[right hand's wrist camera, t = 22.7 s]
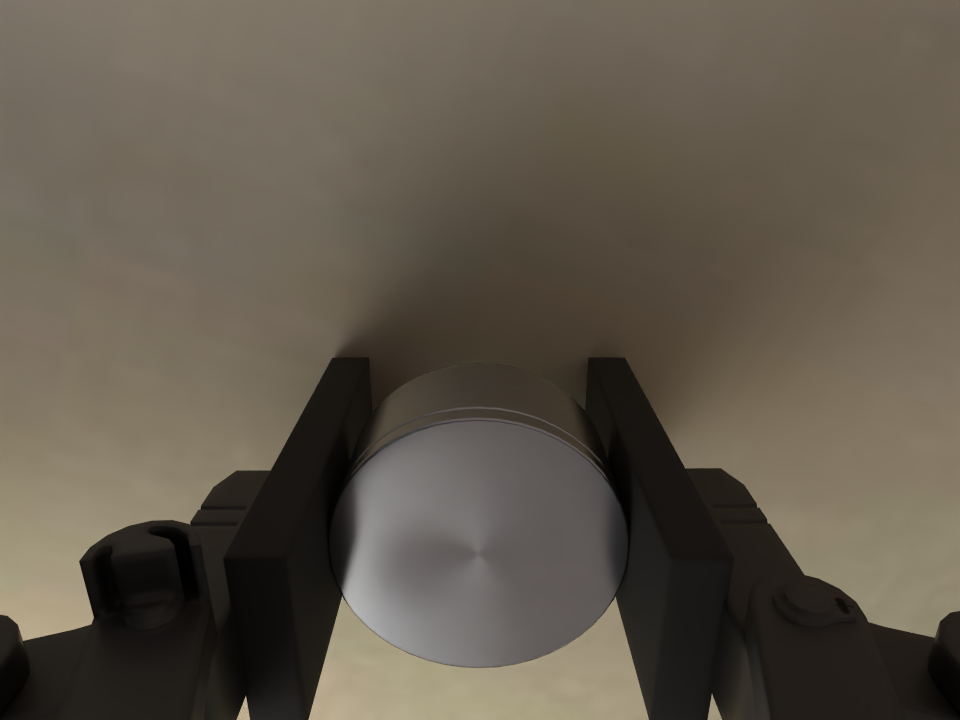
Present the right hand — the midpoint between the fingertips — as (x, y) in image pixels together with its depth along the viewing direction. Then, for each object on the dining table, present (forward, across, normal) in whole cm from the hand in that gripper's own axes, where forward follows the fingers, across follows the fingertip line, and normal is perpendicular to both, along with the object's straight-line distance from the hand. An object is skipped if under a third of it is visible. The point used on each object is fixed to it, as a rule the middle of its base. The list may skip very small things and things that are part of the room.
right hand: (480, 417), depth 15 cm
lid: (-4, 0, 0) cm, 4 cm away
